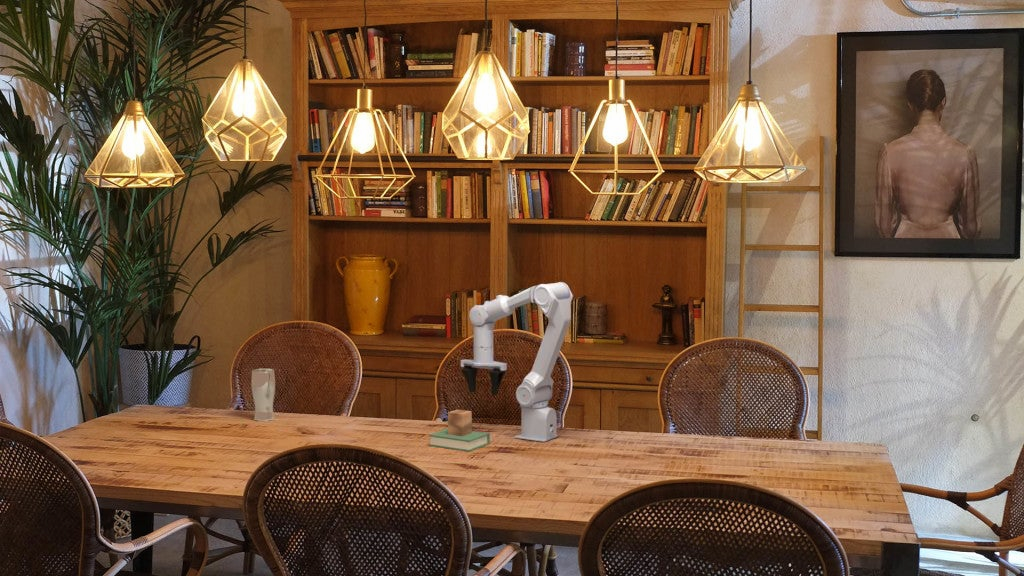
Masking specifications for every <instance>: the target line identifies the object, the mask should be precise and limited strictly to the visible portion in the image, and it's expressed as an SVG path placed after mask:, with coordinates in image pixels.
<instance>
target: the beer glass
mask: <svg viewBox="0 0 1024 576" xmlns="http://www.w3.org/2000/svg"><path fill="white" fill-rule="evenodd" d="M275 375H276V374H275V369H274V368H266V367H265V368H256V369H252V370H251V393H252V397H253V403H254V415H253V421H255V420H258V421H257V422H269V420H270V421H273V419H274V420H275V414H274V399H275V393H276V377H275Z"/></svg>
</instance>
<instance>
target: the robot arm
mask: <svg viewBox="0 0 1024 576" xmlns="http://www.w3.org/2000/svg"><path fill="white" fill-rule="evenodd" d="M573 298H574V295H573V293H572V291H571V289H570V287H569V286H568V284H567V283H565V282H563V281H559V282H555V283H546V284H545V283H541V284H538V285H534V286H531V287H529V288H527V289H524V290H523V291H521V292H518V293H517V294H514V295H512V296H508V295H503V294H499V295H498V294H497V295H496V296H495V299H492V300H486V301H484V304H481V305H478V304H475V305H474V306H473V307H472V308H471V309H470V310H469V313H468V315H469V320H470V323H471V324H472V325H473V328H472V329H473V359H466V358H465V359H461V360H460V367H461V372H462V374H463V376H464V377H465V381H466V383H467V386H468V391H469V393H475V392H476V388H477V373H478V370H479V369H485V370H486V369H487V370H490V371H488V373H489V376H490V377H489V378H490V382H491V383H490V384H491V396H495V395H498V394H499V389H500V385H501V383H502V381H503V378H504V377H505V376H504V375H505V374H506V371H507V369H508V368H507V367H508V363H506V362H501V361H495V360H494V329H495V323H496V322H497V321H498V320H501V319H504V318H506V317H508V316H511V315H512V314H513V313H514V312H515V309H516V308H518V307H521V306H524V305H527V304H529V303H532V304H535V305H537V307H538V308H539V309H540V310H541V312H542V313H543V314H544V315H545V317H546V318H547V320H548V324H547V327H546V330H545V332H544V334H543V338H542V340H541V343H540V345H539V346H540V347H539V349H538V352H537V354H536V356H535V360H534V363H533V366H532V368H531V371H530V372H529V373H528V374H526V376H525V377H524V378H523V380H522V382H521V384H520V385H519V386H517V388H516V391H515V397H516V401H517V402H518V403H519V408H520V409H521V412H520V413H521V414H520V415H521V426H520V427H521V433H520V434H518V435H515V436H514V437H515V439H519V440H528V441H536V442H544V443H545V442H547V441H551V440H552V439H555V438H557V437H558V436H559V435H558V434H557V433H558V432H557V431H558V430H557V429H558V426H557V421H558V419H557V418H558V417H557V412H556V409H555V408H552V407H549V406H548V405H549V401H550V400H551V399H552V397H553V386H554V383H555V381H554V380H553V378H552V377H551V375H552V374H553V370H554V367H555V364H556V362H557V359H558V357H559V354H560V351H561V349H562V345H563V343H564V341H565V338H566V335H567V332H568V329H569V326H570V324H571V321H572V314H571V313H572V311H571V310H572V309H571V304H572V301H573Z"/></svg>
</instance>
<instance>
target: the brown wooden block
mask: <svg viewBox="0 0 1024 576" xmlns="http://www.w3.org/2000/svg"><path fill="white" fill-rule="evenodd" d="M472 412H473V411H471V410H465V409H455V410H452V411H448V412H447V429H448V434H449V435H456V436H465V435H468V434H471V433H472V431H473V430H472V429H473V426H472V425H473V424H472V423H473V422H472V420H473V419H472V417H473V416H472V415H473V414H472Z"/></svg>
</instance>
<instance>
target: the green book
mask: <svg viewBox="0 0 1024 576" xmlns="http://www.w3.org/2000/svg"><path fill="white" fill-rule="evenodd" d="M428 436H429V438H430V439H429V441H430V442H429V444H428V446H429V447H435V448H436V447H437V448H440V449H441V448H443V449H450V450H454V451H455V450H456V451H462V452H468V453H470V452H472V451H475V450H479V449H480V448H483V447H486V446H488V445H490V444H491V439H490V436H491V433H490V432H485V431H484V432H483V431H476V430H472V433H471V434H468V435H465V436H456V435H449V434H448V428H445V429H442V430H440V431H436V432H433V433H431V434H429V435H428Z"/></svg>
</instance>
